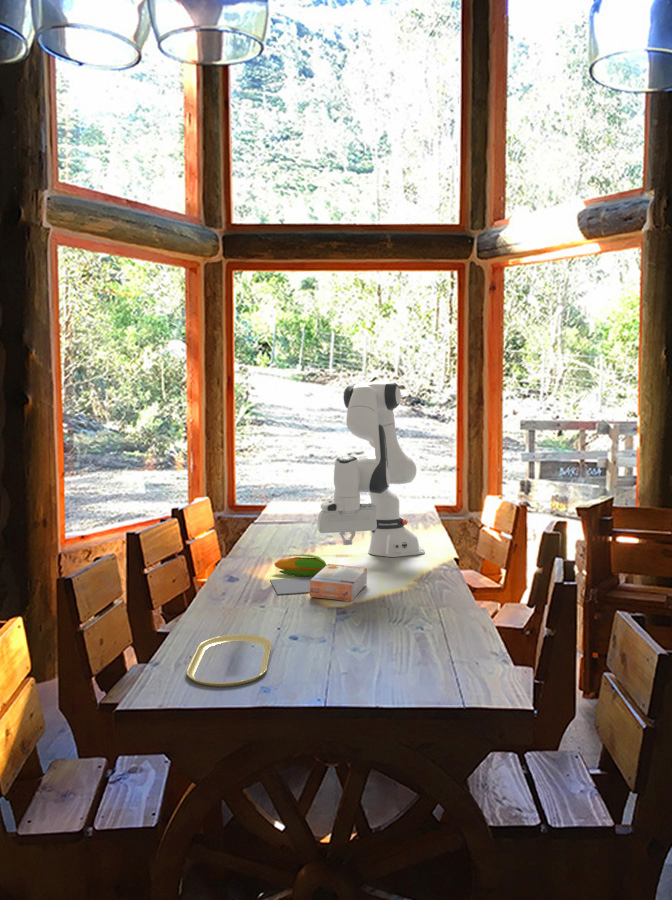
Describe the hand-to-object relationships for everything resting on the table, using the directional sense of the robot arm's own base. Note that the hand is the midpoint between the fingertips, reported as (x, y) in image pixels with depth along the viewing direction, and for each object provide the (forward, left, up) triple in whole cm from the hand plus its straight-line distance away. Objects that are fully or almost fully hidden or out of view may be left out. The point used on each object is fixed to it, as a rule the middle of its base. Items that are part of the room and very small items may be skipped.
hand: (347, 544), depth 272 cm
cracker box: (0, +2, -10) cm, 10 cm away
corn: (+14, -16, -14) cm, 25 cm away
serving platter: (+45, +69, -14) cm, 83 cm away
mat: (+14, 0, -13) cm, 20 cm away
